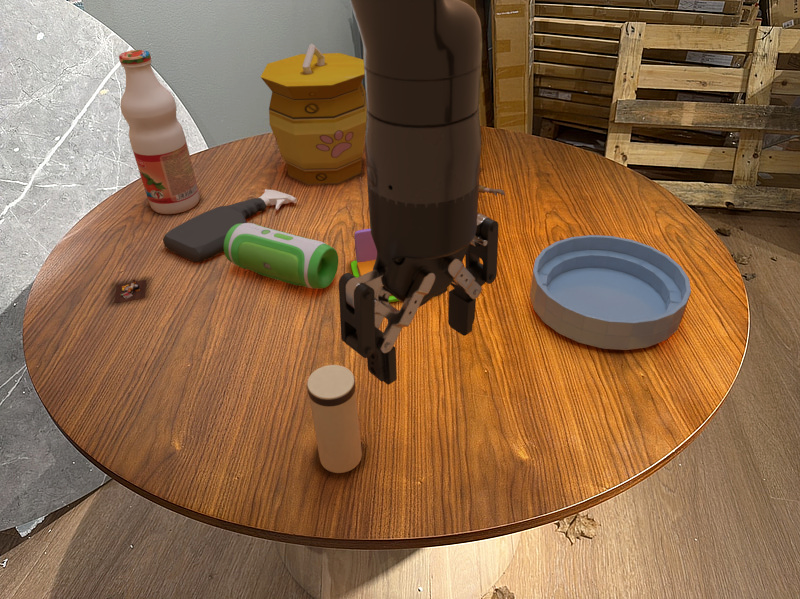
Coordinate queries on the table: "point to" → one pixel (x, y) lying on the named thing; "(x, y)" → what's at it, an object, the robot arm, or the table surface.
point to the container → (318, 115)
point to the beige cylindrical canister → (335, 417)
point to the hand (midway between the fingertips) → (424, 352)
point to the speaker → (281, 255)
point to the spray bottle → (217, 226)
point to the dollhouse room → (365, 255)
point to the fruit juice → (157, 137)
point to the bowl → (609, 292)
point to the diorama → (130, 291)
